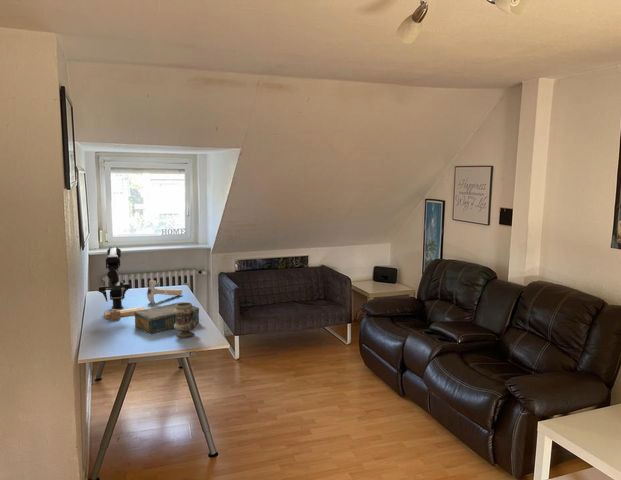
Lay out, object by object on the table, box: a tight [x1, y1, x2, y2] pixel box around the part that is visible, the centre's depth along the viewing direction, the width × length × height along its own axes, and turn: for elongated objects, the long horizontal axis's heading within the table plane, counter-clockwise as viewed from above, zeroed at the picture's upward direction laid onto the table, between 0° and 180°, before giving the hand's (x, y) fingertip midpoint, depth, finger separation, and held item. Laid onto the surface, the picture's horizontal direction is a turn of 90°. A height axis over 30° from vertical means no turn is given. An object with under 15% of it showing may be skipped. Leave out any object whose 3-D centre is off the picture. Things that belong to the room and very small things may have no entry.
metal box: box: [134, 301, 200, 335], centre depth 292 cm, size 21×32×10 cm, turn 133°
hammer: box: [146, 279, 183, 304], centre depth 354 cm, size 16×5×30 cm
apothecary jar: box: [173, 301, 197, 339], centre depth 272 cm, size 12×12×18 cm
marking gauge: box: [109, 308, 121, 321], centre depth 307 cm, size 10×5×6 cm, turn 32°
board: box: [103, 306, 146, 319], centre depth 315 cm, size 7×24×3 cm, turn 122°
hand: (114, 300), depth 305 cm, fingers open, 9 cm apart
